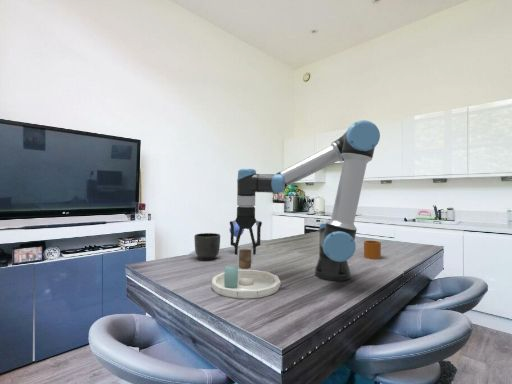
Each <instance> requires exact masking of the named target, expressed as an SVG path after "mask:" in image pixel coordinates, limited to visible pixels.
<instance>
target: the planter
mask: <svg viewBox="0 0 512 384" xmlns="http://www.w3.org/2000/svg"><path fill="white" fill-rule="evenodd" d="M220 249H221V234H220V233H213V232H205V233H201V232H200V233H197V234H195V235H194V251H195V254H196V256H197V257H198V258H199V259H200V260H202V261H212V260H214V259H215V258H216V257H217V256H218V255H219V252H220Z"/></svg>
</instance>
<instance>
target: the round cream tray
mask: <svg viewBox="0 0 512 384" xmlns="http://www.w3.org/2000/svg"><path fill="white" fill-rule="evenodd" d="M280 287H281V279H280V278H279V276H278V275H276V274H273V273H272V272H268V271H265V270H263V271H262V270H256V269H238V286H237V287H236V288H232V289H231V288H225V287H224V271H223V272H221V273H219V274H216V275H215V276H213V277H212V280H211V288H212V290H213V291H214V292H215V293H216V294H218V295H219V296H224V297H227V298H233V299H242V300H244V299H245V300H247V299H249V300H251V299H258V298H264V297H268V296H271V295H273V294H275V293H277V292H278V291H279V290H280Z"/></svg>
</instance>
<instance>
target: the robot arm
mask: <svg viewBox="0 0 512 384" xmlns="http://www.w3.org/2000/svg"><path fill="white" fill-rule="evenodd" d="M380 138H381V131H380V129H379V128H378V126H377V125H376V124H375V123H373V122H372V121H369V120H358V121H355V122H353V123H352V124H350V125H349V127H348V128H347V130H346V131H345V133H343V135H341V136H340V137H339V138H337V139H336V140H334V141H332V142H331V144H330V145H329V146H327V147H326V148H324V149H321V150H320V151H317V152H316V153H314V154H312V155H310V156H307V157H306V158H303V159H302V160H300V161H298V162H296V163H294V164H292V165H290V166H288V167H286V168H284V169H283V170H281V171H279V172H276V173H272V174H271V173H267V174H266V173H257V170H256V169H254V168H241V169H239V170H237V179H236V182H237V186H236V187H237V189H236V190H237V191H236V192H237V193H236V195H237V196H236V206H237V207H236V218H235V220H230V221H229V226H230V227H231V233H230V246H232V247H234V255H235V256H237V257H236V258H237V260H236V263H237V264H239V250H240V246H239V243H240V240H241V236H242V235H241V233H242V229H244V230H245V229H247V230H248V232H249V234H250V240H251V243H252V245H251V246H250V250H251V264H253V263H254V256H255V255H257V251H256V250H257V247H259V246H261V228H262V225H263V222H262V221H261V220H257V219H256V207H255V206H256V193H269V194H270V193H272V194H278V193H280V194H281V193H284V192H285V188H288V187H289V186H291V185H293V184H295V183H296V182H299V181H301V180H303V179H306V178H307V177H310V176H312V175H313V174H315V173H317V172H319V171H321V170H323V169H325V168H327V167H329V166H331V165H334V164H335V163H337V162H340V163H342V162H343V164H342V167H341V171H340V176H339V181H338V186H337V191H336V196H335V201H334V204H333V209H332V214H331V218H330V219H329V220H327V221H326V223H321V224H320V225H319V229H318V232H319V241H318V243H319V244H318V246H319V248H318V249H319V250H318V251H319V253H318V256H319V257H318V259H317V263H316V265H315V268H314V275H315V276H316V277H317V278H318V279H319V278H320V279H322V280H326V281H337V282H338V281H347V280H350V279H351V275H352V274H351V273H352V272H351V270H350V266H349V264H348V260H350V259H351V258H352V257H353V256H354V254H355V252H356V248H357V247H356V241H355V239H356V235H357V230H358V228H357V227H356V226H355V219H356V214H357V210H358V205H359V201H360V197H361V191H362V187H363V182H364V178H365V174H366V169H367V164H368V163H369V162H371V161H372V160H373V157H374V153H375V148H376V147H377V145H378V144H379V142H380ZM235 223H237V224H238V226H239V231H238V235H237V239H236V238H235V239H236V240H235V239H234V237H235V236H234V226H235ZM255 225H256V239H255V235H254V230H253V226H255ZM234 240H235V242H234Z"/></svg>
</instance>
